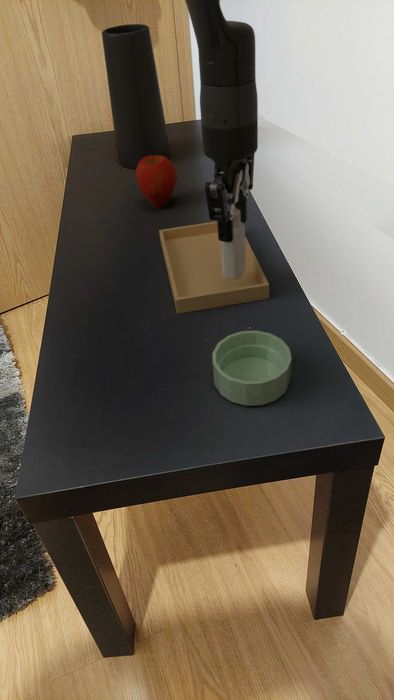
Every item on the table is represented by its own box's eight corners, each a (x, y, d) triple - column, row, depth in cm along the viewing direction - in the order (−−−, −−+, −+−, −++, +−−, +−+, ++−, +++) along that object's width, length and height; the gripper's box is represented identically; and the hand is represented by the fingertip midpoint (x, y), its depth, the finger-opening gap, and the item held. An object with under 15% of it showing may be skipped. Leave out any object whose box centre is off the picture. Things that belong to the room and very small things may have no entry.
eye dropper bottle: (212, 273, 84) (208, 205, 76) (236, 259, 86) (234, 192, 78) (231, 283, 81) (229, 214, 73) (255, 268, 84) (255, 200, 76)
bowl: (298, 363, 71) (300, 339, 68) (277, 416, 64) (278, 391, 61) (229, 348, 75) (228, 324, 72) (203, 396, 68) (200, 372, 65)
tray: (269, 298, 83) (269, 284, 81) (177, 314, 82) (175, 300, 80) (237, 231, 100) (236, 218, 98) (160, 242, 99) (158, 230, 97)
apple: (181, 196, 114) (176, 147, 106) (177, 214, 107) (171, 163, 100) (144, 197, 115) (136, 149, 108) (137, 215, 108) (129, 165, 101)
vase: (127, 148, 138) (106, 24, 119) (176, 148, 135) (162, 20, 116) (111, 169, 128) (85, 37, 109) (163, 169, 126) (146, 34, 106)
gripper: (237, 137, 61) (240, 258, 73) (272, 100, 71) (270, 212, 82) (181, 133, 64) (192, 250, 75) (222, 98, 74) (227, 207, 85)
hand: (233, 230), depth 79 cm, fingers closed on eye dropper bottle, 5 cm apart
